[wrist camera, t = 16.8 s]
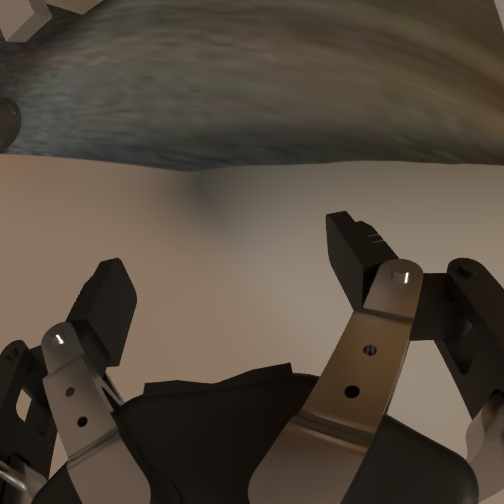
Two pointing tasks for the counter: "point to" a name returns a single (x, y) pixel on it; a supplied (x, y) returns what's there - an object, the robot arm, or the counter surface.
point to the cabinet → (74, 5)
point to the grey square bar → (22, 18)
